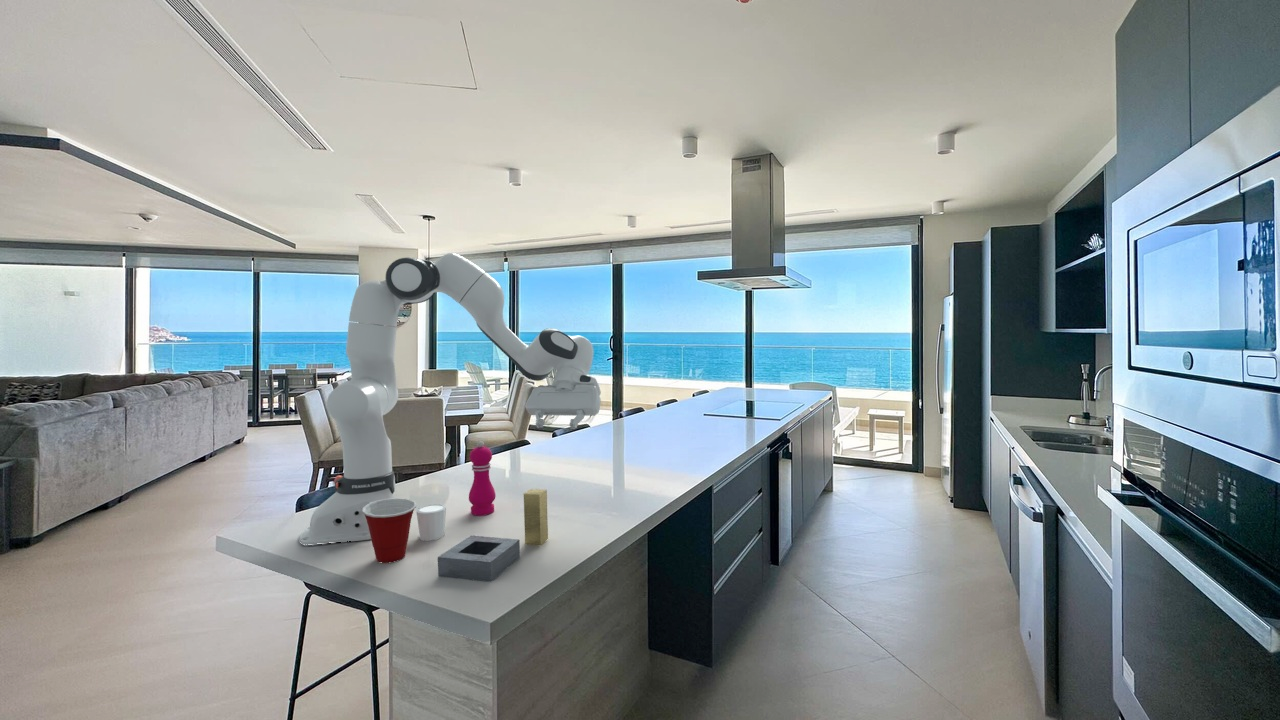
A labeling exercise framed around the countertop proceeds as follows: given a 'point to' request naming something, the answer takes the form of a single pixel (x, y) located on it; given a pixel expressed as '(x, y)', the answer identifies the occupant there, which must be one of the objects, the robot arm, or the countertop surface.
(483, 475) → the pepper mill
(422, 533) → the white cylinder
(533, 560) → the countertop surface
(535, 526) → the brass post
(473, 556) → the block
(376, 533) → the plastic cup
